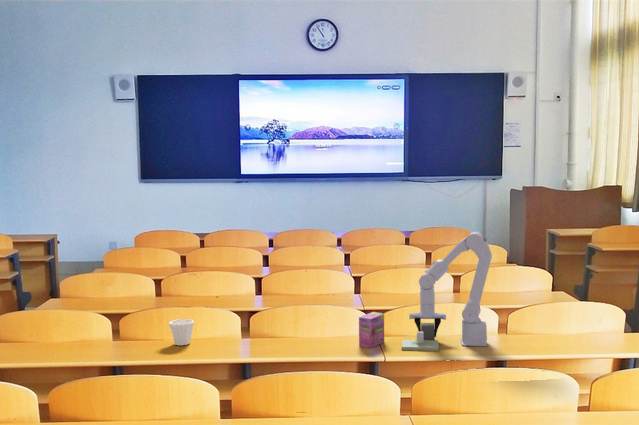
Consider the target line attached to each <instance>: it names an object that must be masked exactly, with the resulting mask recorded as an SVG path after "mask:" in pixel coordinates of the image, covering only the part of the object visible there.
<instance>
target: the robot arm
mask: <svg viewBox="0 0 639 425" xmlns="http://www.w3.org/2000/svg"><path fill="white" fill-rule="evenodd" d="M470 250H471V251H472V252H473V253H474V254H475V255H476V257H477V258H478V261H477V265H476V268H475V273H474V276H473V280H472V283H471V284H472V285H471V289H470V292H469V297H468V300H467V302H466V304H465V305H464V308H463V310H462V312H461V316H462V319H461V337H462V338H461V339H460V343H461V346H462V347H463V346H464V347H466V346H467V347H468V346H469V347H487V346H488V345H487V343H488V342H487V341H488V335H487V334H488V333H487V332H488V331H487V330H488V329H487V322H486V321H483V320H482V319H481V318H480V317H479V316H480V314H481V300H482V295H483V293H484V289H485V284H486V280H487V276H488V272H489V269H490V265H491V262H492V257H493V255H492V251H491V249H490V245H489V243H488V240H487V237H486V236H484V234H483V233H482V232H481V231H478V230H477V231H476V230H475V231H472V232H470V233H469V235H468V236H466V237H464V238H463V239H462V240H460V241H459V242H458V243H457V244H456V245H455V246H454V247H453V248H452V249H451V250H450V252H449V253H447V255H445V256H444V258H442V259H437V260H434V261H433V262H432V265H430V267H429V268H428V269H426V270H425V271H424V274H422V275H421V276H420V277H419V280H418V284H419V287H420V292H419V297H420V298H419V300H420V302H419V305H420V307H419V308H420V309H419V310H420V311H419V312H410V313H409V314H408V315H409V320H414V324H415V325H416V328H417V330H418V331H421V323H422V322H421V321H422V320H433V321H434V322H433V323H434V338H437V333H438V329H439V327H440V325H441V323H442V320H444V321H445V320H447V314H446V313H439V312H438V313H437V312H436V310H435V307H436V306H435V305H436V304H435V303H436V302H435V300H436V299H435V286H434V285H435V284H436V282H437V281H439V280H440V279H441V278H442V277H443V276H444V275H445V274H446V273H447V272H448V271H449V266H450V264H452V262H453V261H455V259H456V258H457V257H458V256H459V255H460V254H462V253H464V252H468V251H470Z"/></svg>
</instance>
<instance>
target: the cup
mask: <svg viewBox="0 0 639 425" xmlns="http://www.w3.org/2000/svg"><path fill="white" fill-rule="evenodd" d="M194 324H195V320H193V319H191V318H190V319H189V318H179V319H174V320H171V321H169V322H168V327H169V328H170V330H171V334H172V338H173V342H174V345H175V346H176V345H177V347H184V346H183V345H186V346H188V344H189V345H190V344H191V339H192V333H193V329H194V328H193V327H194Z"/></svg>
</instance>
